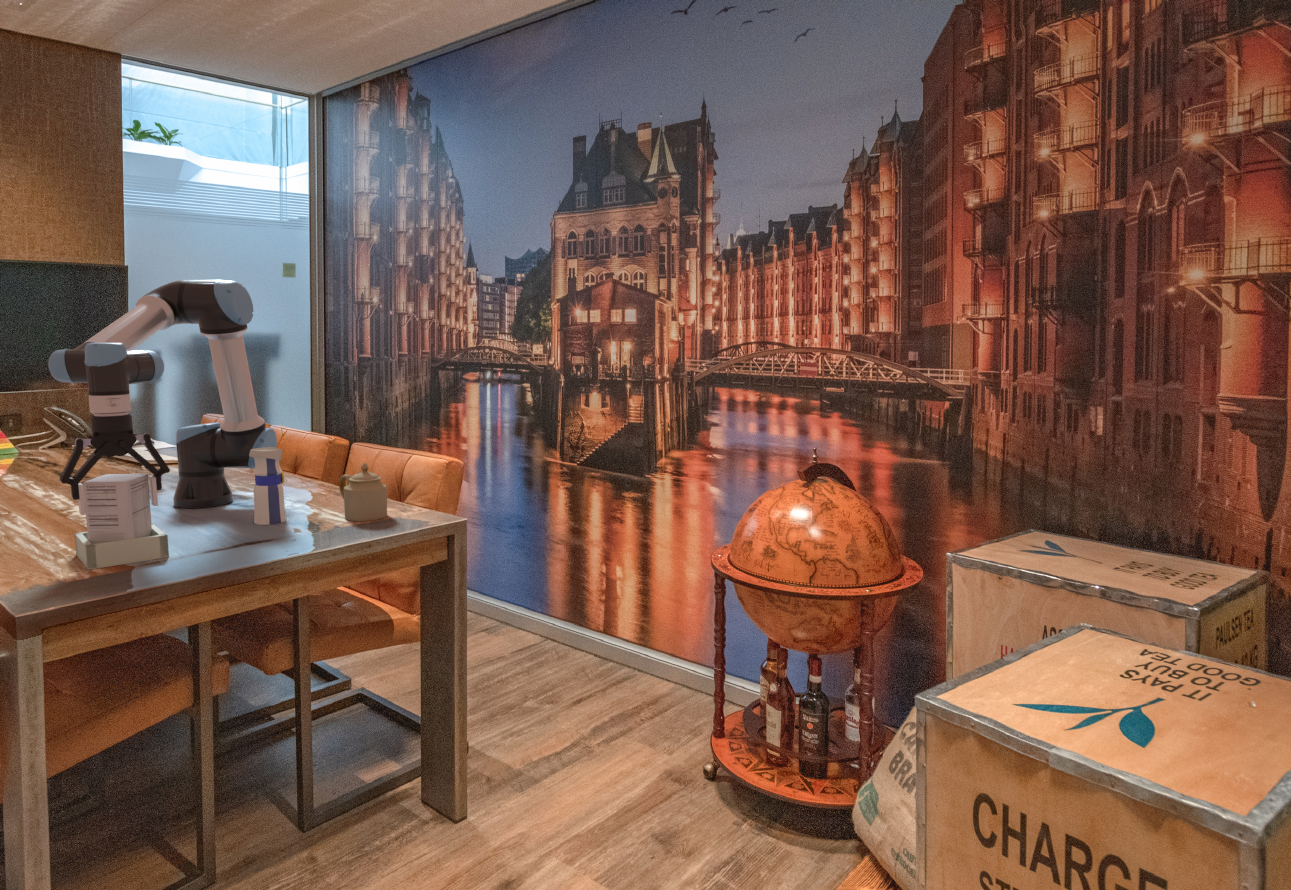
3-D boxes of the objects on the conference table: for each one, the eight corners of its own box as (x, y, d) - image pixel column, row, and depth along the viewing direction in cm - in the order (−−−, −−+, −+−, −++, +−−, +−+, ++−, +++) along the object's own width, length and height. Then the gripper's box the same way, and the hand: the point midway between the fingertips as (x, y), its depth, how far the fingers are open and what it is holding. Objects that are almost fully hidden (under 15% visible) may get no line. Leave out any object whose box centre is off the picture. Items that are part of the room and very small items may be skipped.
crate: (153, 543, 190) (151, 523, 189) (169, 556, 179) (167, 535, 178) (76, 555, 180) (74, 533, 179) (88, 569, 169) (86, 546, 168)
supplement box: (111, 546, 183) (105, 473, 181) (154, 545, 184) (149, 473, 182) (87, 557, 174) (81, 481, 172) (133, 557, 175) (127, 480, 173)
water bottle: (280, 516, 220) (275, 425, 216) (292, 521, 214) (287, 427, 210) (248, 520, 214) (243, 427, 210) (260, 526, 208) (254, 430, 204)
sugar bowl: (323, 520, 215) (321, 465, 213) (343, 511, 226) (341, 458, 224) (376, 522, 214) (374, 466, 212) (394, 513, 225) (392, 460, 223)
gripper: (42, 419, 164) (52, 521, 167) (179, 411, 181) (187, 504, 184) (37, 416, 169) (47, 514, 173) (171, 408, 186) (178, 498, 189)
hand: (119, 509), depth 178 cm, fingers open, 13 cm apart
